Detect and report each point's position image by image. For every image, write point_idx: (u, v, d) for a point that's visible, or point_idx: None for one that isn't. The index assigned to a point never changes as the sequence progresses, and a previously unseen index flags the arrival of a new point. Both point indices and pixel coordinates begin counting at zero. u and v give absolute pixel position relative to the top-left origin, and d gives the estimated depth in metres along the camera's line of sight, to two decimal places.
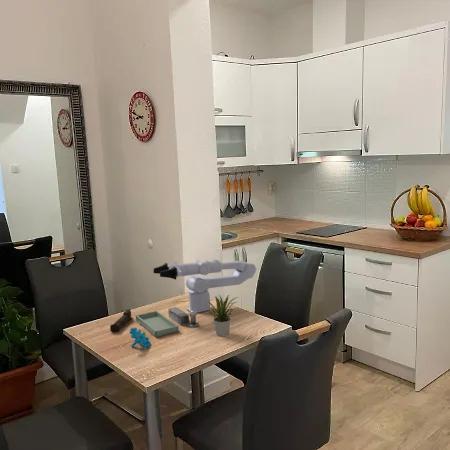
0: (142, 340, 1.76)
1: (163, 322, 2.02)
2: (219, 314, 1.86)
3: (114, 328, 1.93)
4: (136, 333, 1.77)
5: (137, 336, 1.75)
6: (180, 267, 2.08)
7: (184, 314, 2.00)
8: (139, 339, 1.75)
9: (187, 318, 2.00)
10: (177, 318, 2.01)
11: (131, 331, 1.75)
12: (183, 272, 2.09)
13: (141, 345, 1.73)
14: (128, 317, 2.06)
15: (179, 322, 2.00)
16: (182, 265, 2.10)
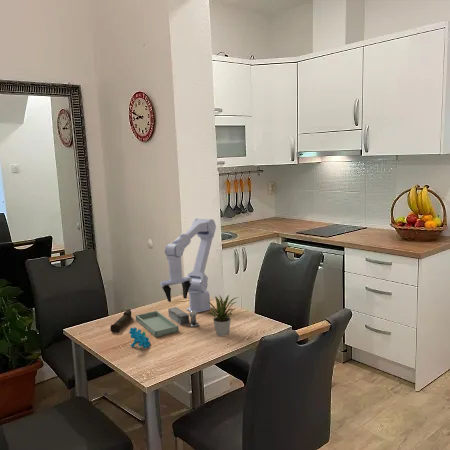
0: (142, 340, 1.76)
1: (163, 322, 2.02)
2: (219, 314, 1.86)
3: (114, 329, 1.93)
4: (136, 333, 1.77)
5: (137, 336, 1.75)
6: (181, 276, 2.02)
7: (184, 314, 2.00)
8: (138, 339, 1.75)
9: (187, 318, 2.00)
10: (177, 318, 2.01)
11: (131, 331, 1.75)
12: None
13: (140, 345, 1.73)
14: (128, 317, 2.06)
15: (179, 322, 2.00)
16: (180, 274, 2.01)
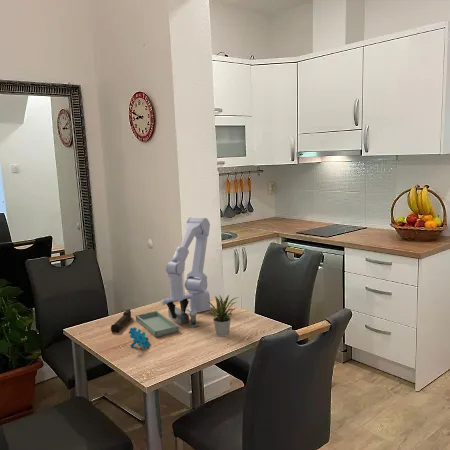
0: (142, 340, 1.76)
1: (163, 322, 2.02)
2: (219, 314, 1.86)
3: (115, 329, 1.93)
4: (135, 333, 1.77)
5: (136, 336, 1.75)
6: (182, 294, 2.03)
7: (184, 314, 2.00)
8: (138, 339, 1.75)
9: (187, 318, 2.00)
10: (177, 317, 2.01)
11: (130, 331, 1.75)
12: None
13: (140, 345, 1.73)
14: (128, 317, 2.06)
15: (179, 322, 1.99)
16: (181, 291, 2.02)
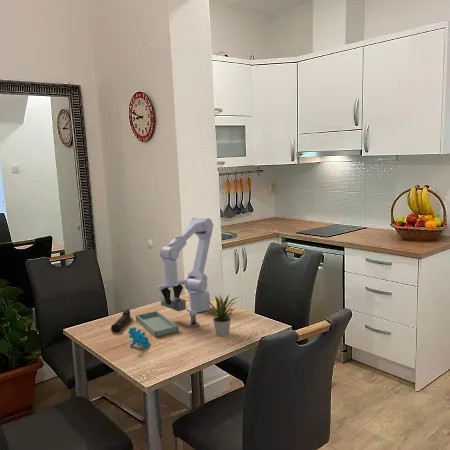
0: (141, 340, 1.76)
1: (163, 322, 2.02)
2: (219, 314, 1.86)
3: (115, 328, 1.93)
4: (135, 333, 1.77)
5: (136, 336, 1.75)
6: (177, 279, 2.01)
7: (180, 300, 1.99)
8: (137, 339, 1.75)
9: (184, 304, 1.98)
10: (173, 304, 1.99)
11: (130, 331, 1.75)
12: None
13: (139, 345, 1.73)
14: (128, 317, 2.06)
15: (176, 308, 1.97)
16: (176, 276, 2.00)
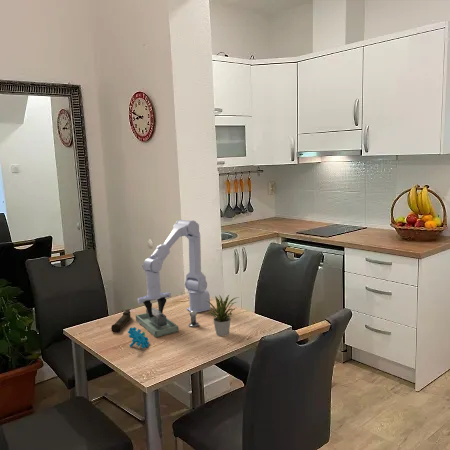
0: (141, 340, 1.76)
1: None
2: (219, 314, 1.86)
3: (115, 329, 1.93)
4: (135, 333, 1.77)
5: (135, 336, 1.76)
6: (160, 292, 1.96)
7: (161, 315, 1.94)
8: (137, 339, 1.75)
9: (164, 319, 1.93)
10: (154, 319, 1.94)
11: (129, 331, 1.75)
12: None
13: (138, 345, 1.73)
14: (128, 317, 2.06)
15: (156, 323, 1.93)
16: (158, 289, 1.95)
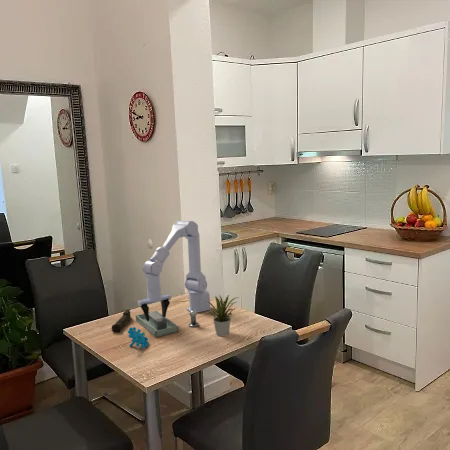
0: (140, 340, 1.76)
1: None
2: (219, 314, 1.86)
3: (116, 329, 1.93)
4: (134, 333, 1.77)
5: (135, 336, 1.76)
6: (160, 294, 1.97)
7: (162, 319, 1.94)
8: (136, 339, 1.75)
9: (165, 323, 1.93)
10: (154, 323, 1.95)
11: (129, 331, 1.75)
12: None
13: (138, 345, 1.73)
14: (128, 317, 2.06)
15: (156, 327, 1.93)
16: (159, 292, 1.95)
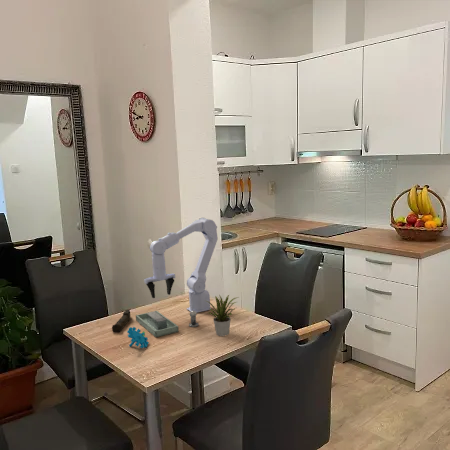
0: (140, 340, 1.76)
1: None
2: (219, 314, 1.86)
3: (116, 329, 1.93)
4: (134, 333, 1.77)
5: (134, 336, 1.76)
6: (165, 273, 2.07)
7: (162, 319, 1.94)
8: (136, 339, 1.75)
9: (165, 323, 1.93)
10: (154, 323, 1.95)
11: (128, 330, 1.76)
12: None
13: (137, 345, 1.73)
14: (128, 317, 2.06)
15: (156, 327, 1.93)
16: (164, 271, 2.06)
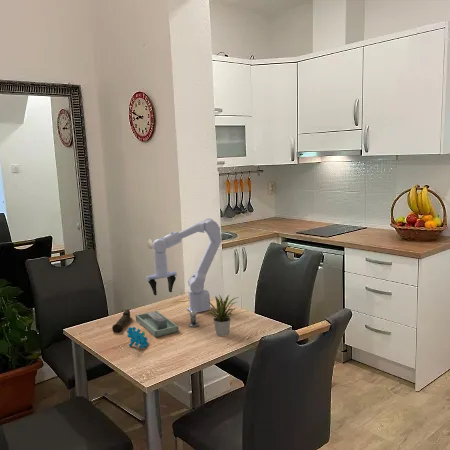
0: (139, 339, 1.76)
1: None
2: (219, 314, 1.86)
3: (117, 329, 1.93)
4: (133, 333, 1.77)
5: (134, 336, 1.76)
6: (167, 271, 2.11)
7: (162, 319, 1.94)
8: (135, 339, 1.75)
9: (165, 323, 1.93)
10: (154, 323, 1.95)
11: (128, 330, 1.76)
12: None
13: (136, 345, 1.73)
14: (128, 317, 2.06)
15: (156, 327, 1.93)
16: (165, 268, 2.10)
